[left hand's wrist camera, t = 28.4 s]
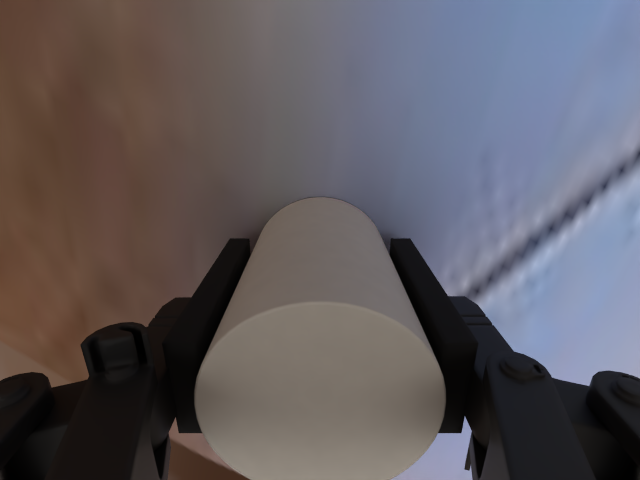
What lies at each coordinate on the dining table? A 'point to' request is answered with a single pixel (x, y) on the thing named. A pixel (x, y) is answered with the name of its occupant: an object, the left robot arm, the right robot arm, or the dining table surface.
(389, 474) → the canister
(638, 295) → the dining table surface
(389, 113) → the dining table surface
